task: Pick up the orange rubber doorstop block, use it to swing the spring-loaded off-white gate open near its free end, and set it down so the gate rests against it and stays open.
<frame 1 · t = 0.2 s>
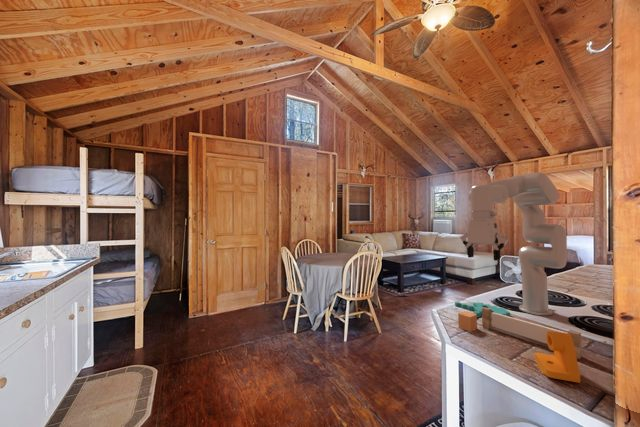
hand: (483, 258, 103), 30 cm above the counter, tool pointing down, fingers open, 9 cm apart
gate frame: (491, 329, 107), on the counter
bracket: (555, 372, 78), on the counter
gate door: (526, 329, 97), point 4 cm above the counter, hinge at 0.0°
doorstop block: (467, 328, 109), on the counter
alien figure: (483, 314, 125), on the counter
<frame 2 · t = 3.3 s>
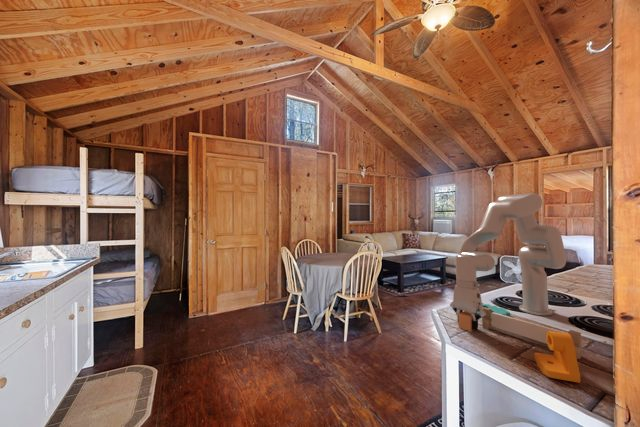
hand: (467, 326, 109), 1 cm above the counter, tool pointing down, fingers closed on doorstop block, 5 cm apart
doorstop block: (467, 328, 109), on the counter, touching gripper
everything else where it was.
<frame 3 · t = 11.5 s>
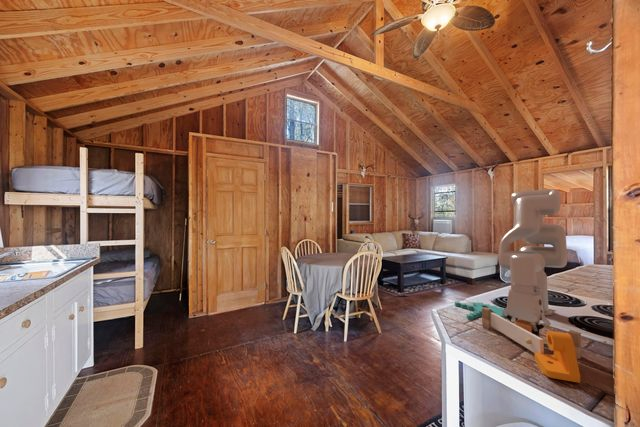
hand: (525, 337, 95), 2 cm above the counter, tool pointing down, fingers closed on doorstop block, 5 cm apart
gate door: (512, 331, 95), point 4 cm above the counter, hinge at 30.4°, touching doorstop block, gripper
doorstop block: (525, 338, 95), point 2 cm above the counter, touching gate door, gripper
everything else where it was.
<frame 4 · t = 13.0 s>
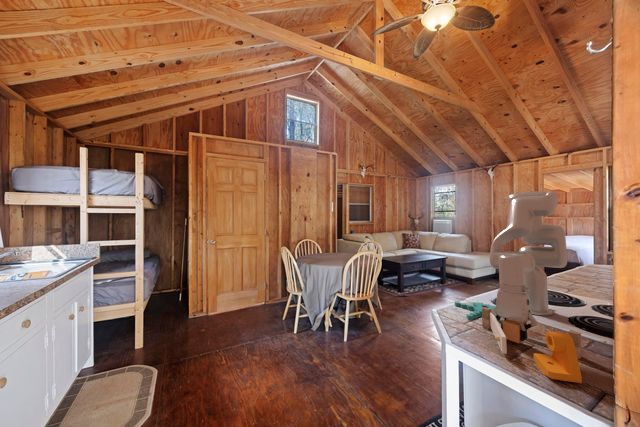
hand: (514, 336, 96), 2 cm above the counter, tool pointing down, fingers closed on doorstop block, 5 cm apart
gate door: (495, 330, 96), point 4 cm above the counter, hinge at 56.6°, touching gripper
doorstop block: (513, 338, 95), point 2 cm above the counter, touching gripper
everything else where it was.
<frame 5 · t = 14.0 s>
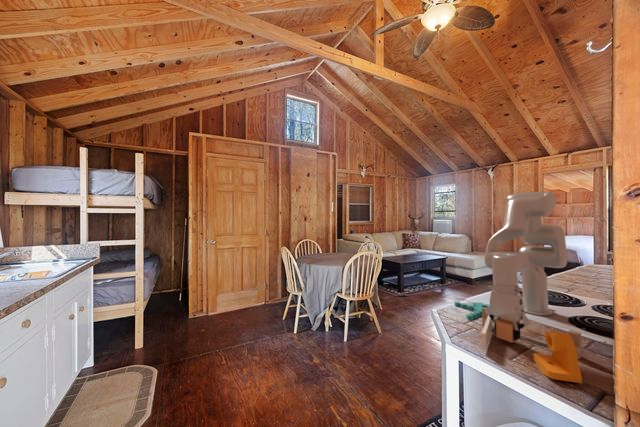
hand: (507, 336, 96), 2 cm above the counter, tool pointing down, fingers closed on doorstop block, 5 cm apart
gate door: (486, 328, 98), point 4 cm above the counter, hinge at 70.3°, touching gripper
doorstop block: (507, 337, 96), point 1 cm above the counter, touching gripper
everything else where it was.
when the fingers open (2 cm above the counter, at t = 14.7 s): doorstop block drops 1 cm, on the counter.
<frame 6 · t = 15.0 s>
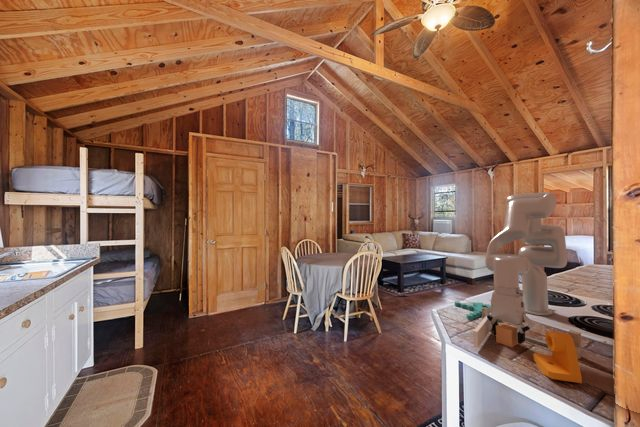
hand: (508, 338, 95), 2 cm above the counter, tool pointing down, fingers open, 7 cm apart
gate door: (482, 327, 99), point 4 cm above the counter, hinge at 76.1°, touching gripper
doorstop block: (507, 342, 96), on the counter
everything else where it was.
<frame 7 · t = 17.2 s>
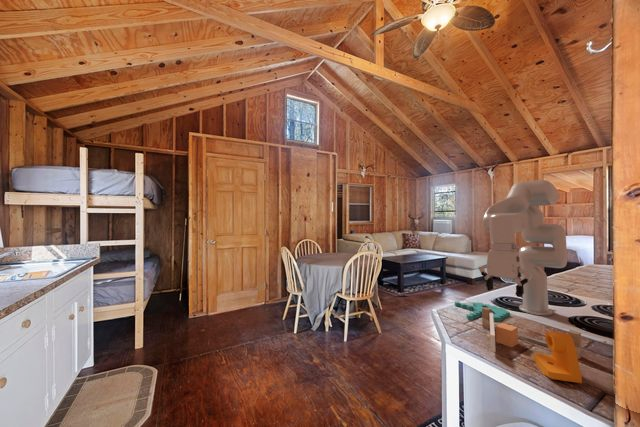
hand: (504, 292, 96), 18 cm above the counter, tool pointing down, fingers open, 9 cm apart
gate door: (490, 329, 97), point 4 cm above the counter, hinge at 63.9°
everything else where it was.
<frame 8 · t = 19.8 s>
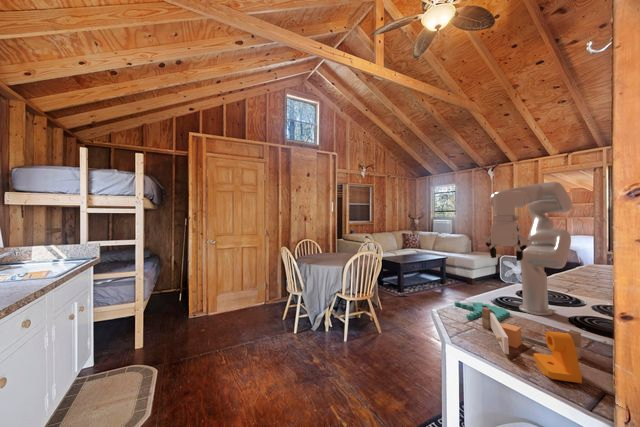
hand: (506, 259, 111), 28 cm above the counter, tool pointing down, fingers open, 9 cm apart
gate door: (496, 330, 96), point 4 cm above the counter, hinge at 55.1°, touching doorstop block
doorstop block: (511, 343, 95), on the counter, touching gate door
everything else where it was.
at the end: gate door at +55° (first picture: +0°); doorstop block inside the target area (1.7 cm from its centre), on the counter; doorstop block tilted 0° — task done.
